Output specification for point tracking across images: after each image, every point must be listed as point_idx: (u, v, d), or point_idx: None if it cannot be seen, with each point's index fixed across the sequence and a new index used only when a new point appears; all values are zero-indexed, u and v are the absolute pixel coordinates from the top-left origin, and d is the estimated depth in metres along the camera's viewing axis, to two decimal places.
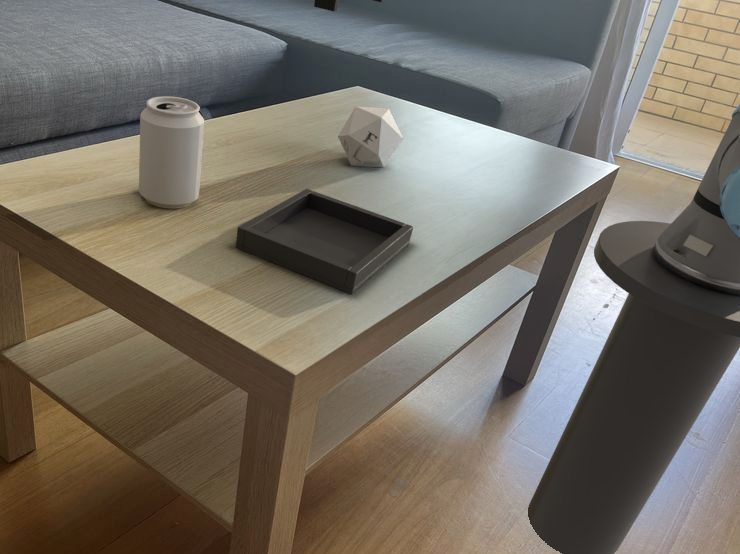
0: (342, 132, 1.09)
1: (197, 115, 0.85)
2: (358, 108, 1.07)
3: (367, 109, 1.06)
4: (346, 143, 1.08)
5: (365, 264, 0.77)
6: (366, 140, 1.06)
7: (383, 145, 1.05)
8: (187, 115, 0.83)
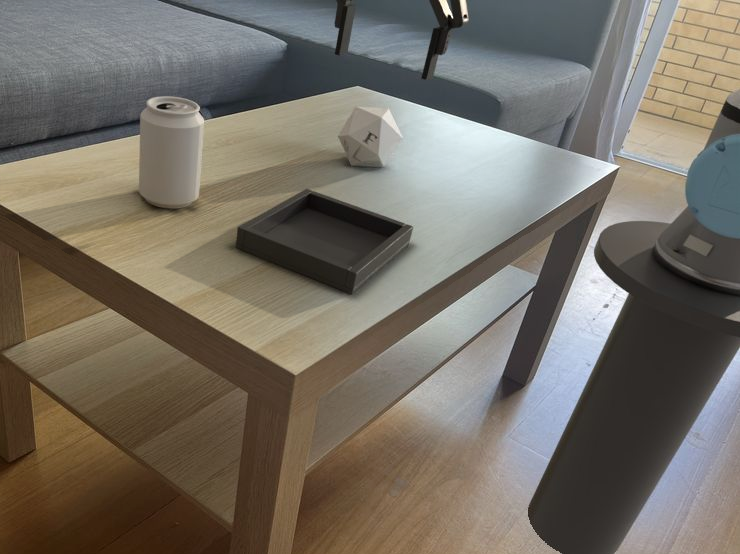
0: (342, 132, 1.09)
1: (197, 115, 0.85)
2: (358, 108, 1.07)
3: (367, 109, 1.06)
4: (346, 143, 1.08)
5: (365, 264, 0.77)
6: (366, 140, 1.06)
7: (383, 145, 1.05)
8: (187, 115, 0.83)
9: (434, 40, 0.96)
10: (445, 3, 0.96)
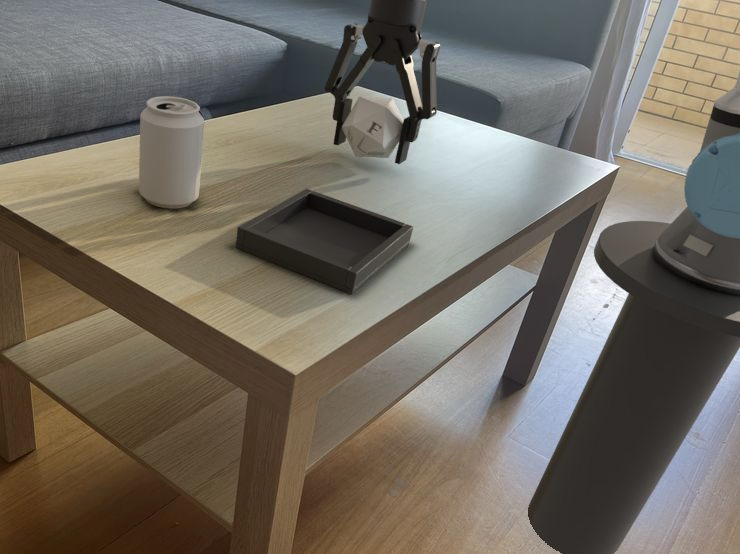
0: (346, 123, 1.08)
1: (197, 115, 0.84)
2: (362, 98, 1.06)
3: (370, 99, 1.05)
4: (350, 134, 1.07)
5: (365, 264, 0.77)
6: (370, 130, 1.05)
7: (387, 135, 1.04)
8: (187, 115, 0.83)
9: (405, 129, 1.04)
10: (417, 95, 1.03)
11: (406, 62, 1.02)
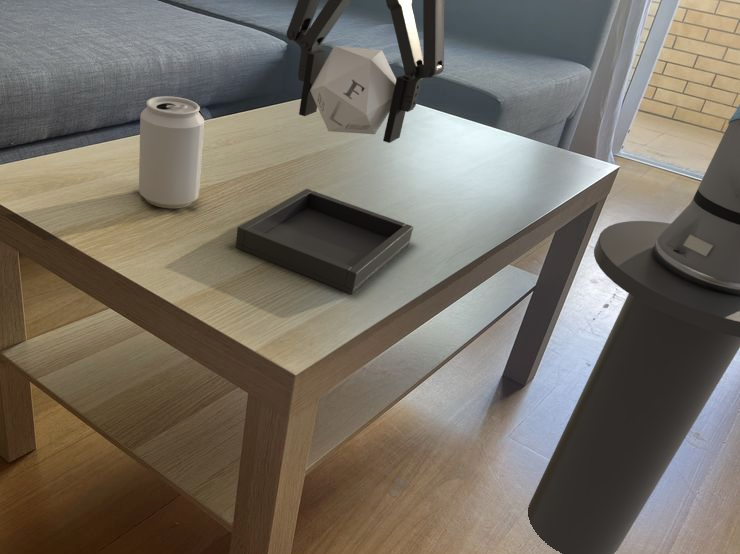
0: (316, 83, 0.77)
1: (197, 115, 0.84)
2: (338, 48, 0.75)
3: (350, 50, 0.74)
4: (321, 98, 0.75)
5: (365, 264, 0.77)
6: (349, 93, 0.74)
7: (373, 101, 0.73)
8: (187, 115, 0.83)
9: (398, 93, 0.73)
10: (417, 44, 0.72)
11: None
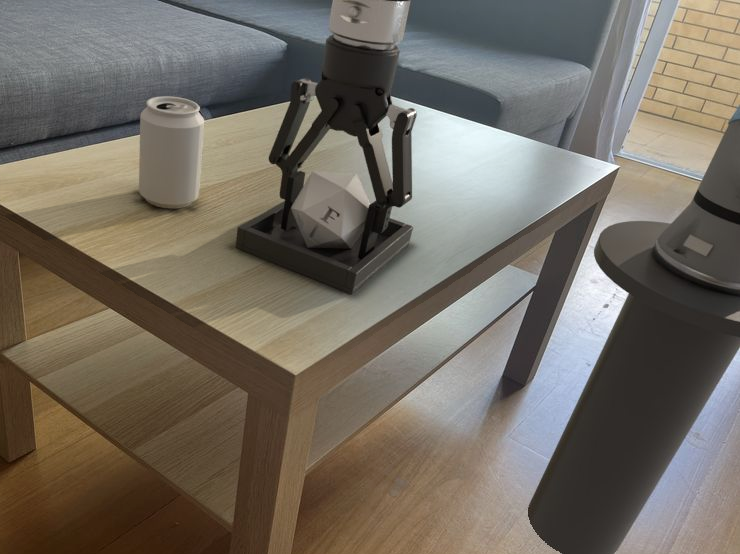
0: (295, 204, 0.83)
1: (197, 115, 0.84)
2: (315, 174, 0.81)
3: (327, 176, 0.81)
4: (300, 220, 0.82)
5: (365, 264, 0.77)
6: (326, 217, 0.80)
7: (347, 225, 0.80)
8: (187, 115, 0.83)
9: (371, 218, 0.79)
10: (387, 175, 0.78)
11: (372, 131, 0.77)
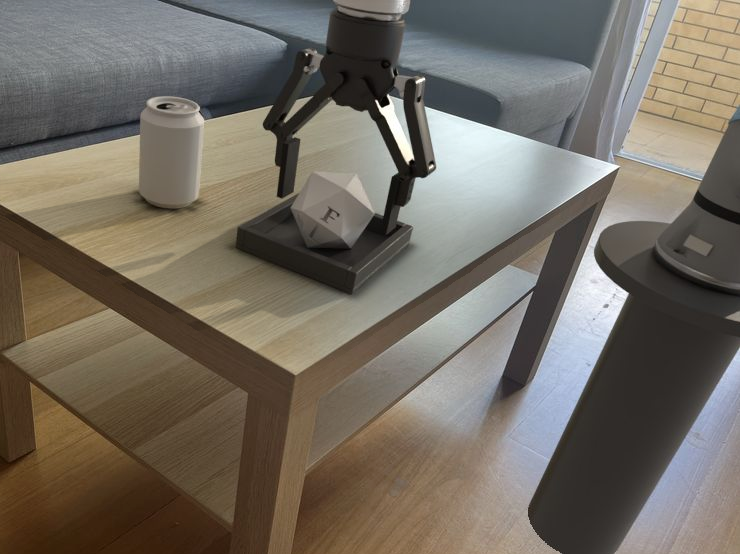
0: (295, 204, 0.83)
1: (197, 115, 0.84)
2: (315, 174, 0.81)
3: (327, 176, 0.81)
4: (300, 220, 0.82)
5: (365, 264, 0.77)
6: (325, 217, 0.80)
7: (347, 225, 0.80)
8: (187, 115, 0.83)
9: (393, 190, 0.77)
10: (406, 145, 0.76)
11: (383, 105, 0.76)
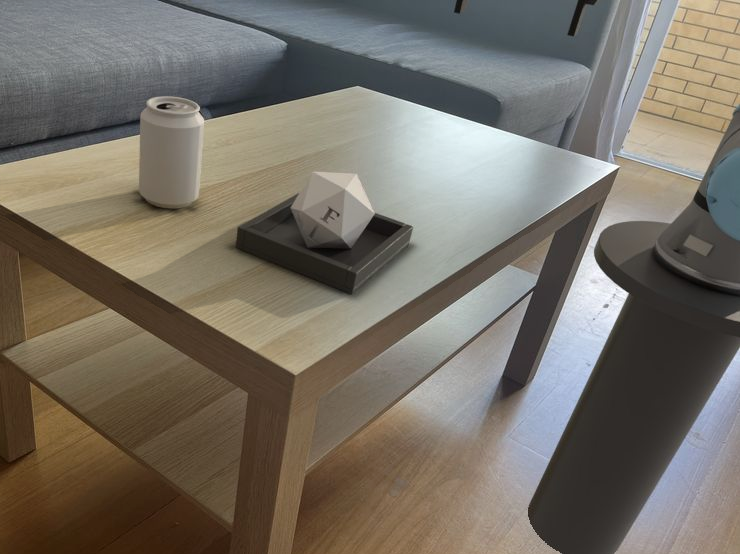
0: (295, 204, 0.83)
1: (197, 115, 0.84)
2: (315, 174, 0.81)
3: (327, 176, 0.81)
4: (300, 220, 0.82)
5: (365, 264, 0.77)
6: (325, 217, 0.80)
7: (347, 225, 0.80)
8: (187, 115, 0.83)
9: None
10: None
11: None
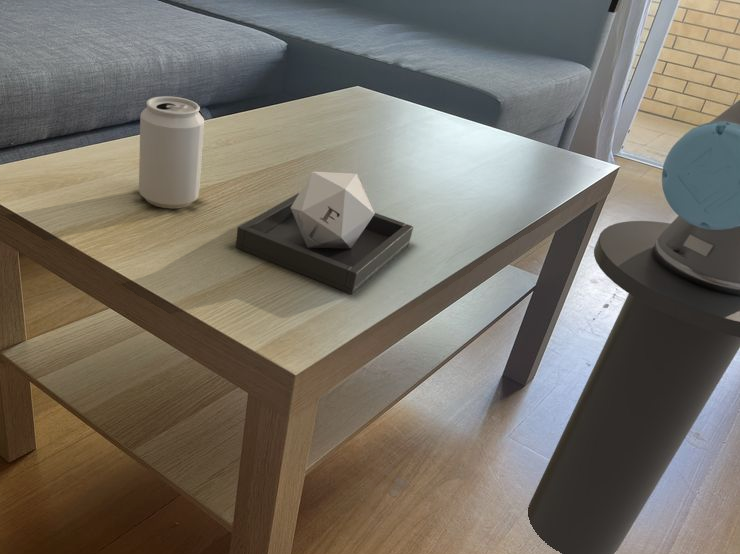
0: (295, 204, 0.83)
1: (197, 115, 0.84)
2: (315, 174, 0.81)
3: (327, 176, 0.81)
4: (300, 220, 0.82)
5: (365, 264, 0.77)
6: (325, 217, 0.80)
7: (347, 225, 0.80)
8: (187, 115, 0.83)
9: None
10: None
11: None
